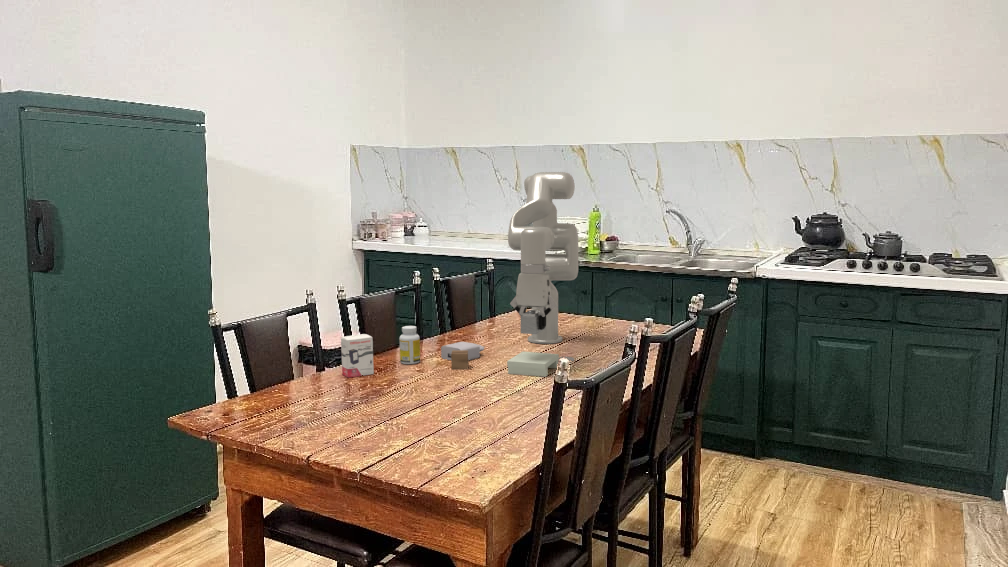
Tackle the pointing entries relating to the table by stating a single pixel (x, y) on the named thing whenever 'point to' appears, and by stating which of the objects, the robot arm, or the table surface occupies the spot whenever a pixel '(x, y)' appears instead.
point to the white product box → (357, 355)
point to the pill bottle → (409, 345)
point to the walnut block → (459, 359)
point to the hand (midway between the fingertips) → (533, 327)
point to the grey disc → (569, 358)
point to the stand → (532, 363)
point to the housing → (531, 322)
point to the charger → (472, 349)
